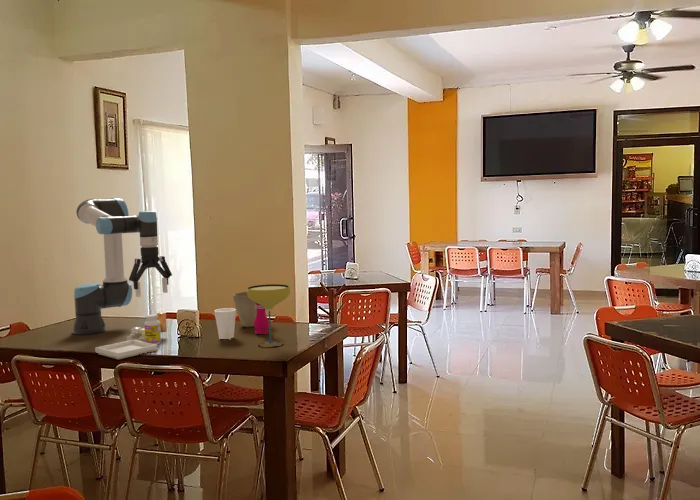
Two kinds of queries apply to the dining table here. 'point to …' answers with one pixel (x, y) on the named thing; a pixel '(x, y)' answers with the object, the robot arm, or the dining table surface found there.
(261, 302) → the cocktail glass
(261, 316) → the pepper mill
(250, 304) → the plant pot
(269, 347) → the dining table surface
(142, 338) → the crank base
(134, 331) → the crank lever
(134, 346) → the tray
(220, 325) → the foam cup
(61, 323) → the dining table surface
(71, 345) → the dining table surface
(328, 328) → the dining table surface
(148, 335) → the supplement bottle
